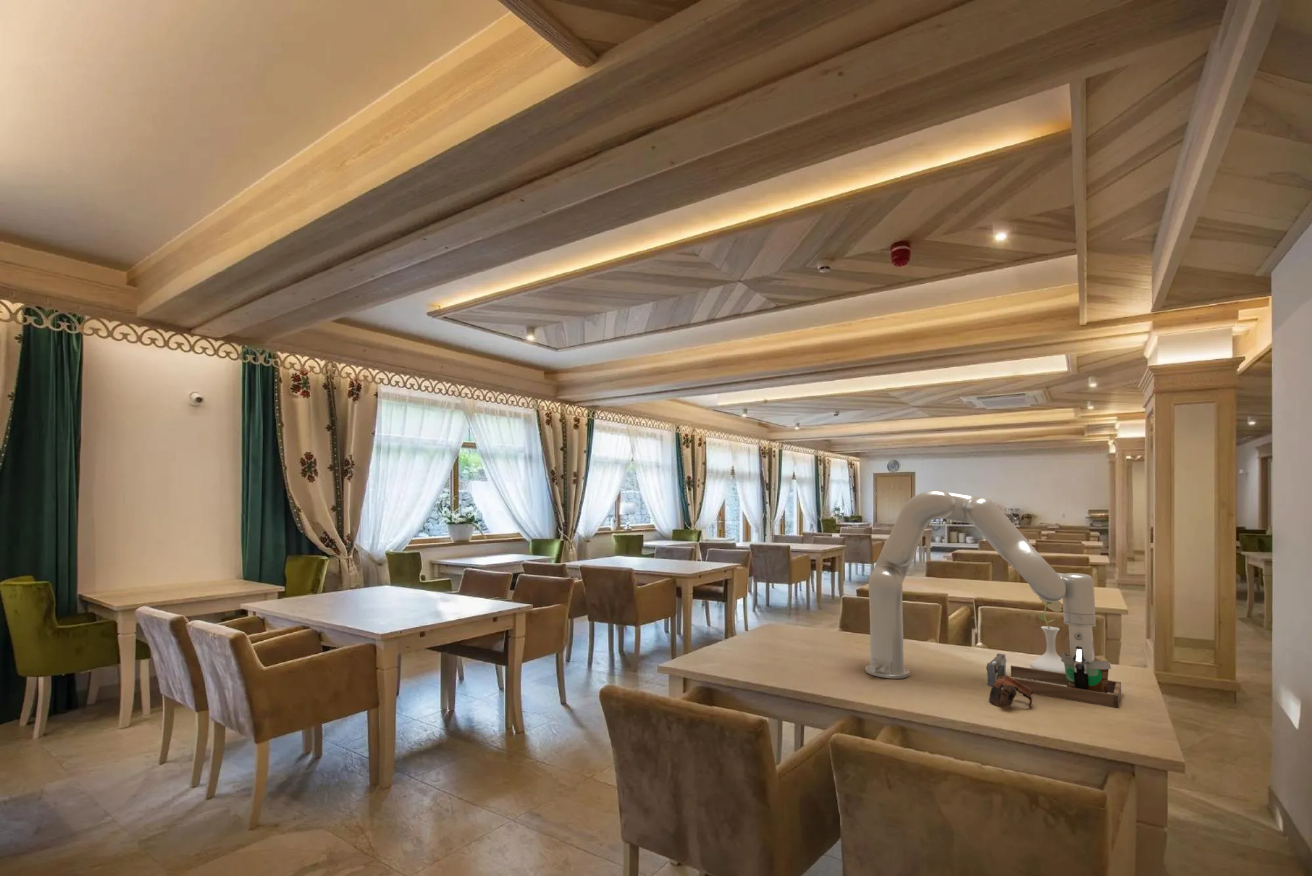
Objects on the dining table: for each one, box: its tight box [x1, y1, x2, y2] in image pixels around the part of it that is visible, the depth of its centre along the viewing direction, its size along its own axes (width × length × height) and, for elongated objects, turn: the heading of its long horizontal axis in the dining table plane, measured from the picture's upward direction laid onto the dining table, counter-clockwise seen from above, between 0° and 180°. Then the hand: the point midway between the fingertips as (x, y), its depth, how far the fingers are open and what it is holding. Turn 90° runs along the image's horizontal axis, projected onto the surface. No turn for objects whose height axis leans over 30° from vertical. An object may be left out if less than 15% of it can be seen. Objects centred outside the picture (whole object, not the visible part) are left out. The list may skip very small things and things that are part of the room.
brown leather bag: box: [988, 674, 1034, 709], centre depth 169 cm, size 12×10×8 cm
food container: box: [1061, 651, 1112, 693], centre depth 179 cm, size 12×6×10 cm, turn 28°
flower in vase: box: [1029, 596, 1066, 674], centre depth 201 cm, size 13×11×25 cm
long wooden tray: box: [1000, 665, 1122, 709], centre depth 182 cm, size 16×27×3 cm, turn 52°
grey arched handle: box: [985, 653, 1007, 687], centre depth 193 cm, size 18×3×6 cm, turn 142°
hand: (1082, 684), depth 179 cm, fingers closed on food container, 6 cm apart
